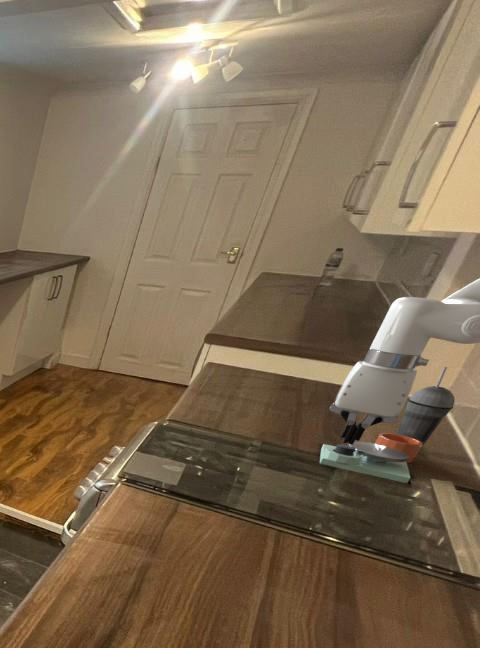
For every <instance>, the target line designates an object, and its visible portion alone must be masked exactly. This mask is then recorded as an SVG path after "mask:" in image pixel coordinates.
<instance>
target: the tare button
mask: <svg viewBox="0 0 480 648" xmlns="http://www.w3.org/2000/svg"><path fill="white" fill-rule="evenodd" d="M335 447H336V449H335V451H334V452H336V453H339V454H342V455H347V456H352V455H353V453H354V451H355V449H356V448H354V447H352V446H349V444H345V443H339V444H337V445H336V446H335Z"/></svg>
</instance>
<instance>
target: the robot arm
mask: <svg viewBox="0 0 480 648" xmlns="http://www.w3.org/2000/svg"><path fill="white" fill-rule="evenodd" d="M430 339H436V340H442V341H446V342H450V343H456V344H460V345H461V344H462V345H473V344H479V343H480V277H479V278H478V279H476V280H474V281H472V282H470V283H468V285H465V286H464V287H462V288H460V289H459V290H457V291H455V292H454V293H452V294H450V295H449V296H447V297H445V298H444V299H442V300H439V299H435V298H428V297H417V296H416V297H415V296H403V297H399V298H397V299H395V300H394V301H393V302H392V303H391V305H390V307H389V308H388V311H387V313H386V315H385V317H384V318H383V321H382V322H381V325H380V327H379V329H378V330H377V332H376V335H375V337H374V339H373V341H372V343H371V345H370V346H369V349H368V350H367V353H366V354H365V357H364V359H363V360H362V361H361V360H359V361H357V362H356V363H355V364H354V365H353V367H352V368H351V370H350V371H349V373H348V375H347V376H346V378H345V380H344V381H343V383H342V384H341V385H340V386H341V387H340V388H339V390H338V392H337V393H336V397H335V399H334V402H332V403H331V405H330V406H329V409H328V410H329V412H332V413H333V414H334V413H335V414H336V415H340V416H341V417H342V419H343V420H344V421H345V422H346V424H345V426H344V428H343V430H342V432H341V434H340V438H343V439H342V444H352V445H353V443H354V442H360V440H361V438H362V436H363V434H364V432H365V431H366V429H368V428H369V427H372V426H376V425H378V424H380V423H381V424H382V423H383V424H396V423H397V422H398V419H399V415H400V413H401V412H402V410H403V409H404V406H405V404H406V402H407V401H408V399H409V396H410V393H411V391H412V389H413V385H414V383H415V380H416V377H417V373H418V370H417V369H415V368H416V367H421V366H423V367H426V366H427V365H428V363H429V361H430V359H428V358H424V357H423V356H422V353H423V352H424V350H425V348H426V346H427V345H428V343H429V341H430ZM358 413H361V414H366V415H365V416H364V417H363V419H362V420H361V421H359V422H358V423H357V420H356V419H357V416H358Z"/></svg>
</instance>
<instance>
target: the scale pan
mask: <svg viewBox="0 0 480 648" xmlns="http://www.w3.org/2000/svg"><path fill="white" fill-rule="evenodd" d="M348 445H349V446H352V447H354V448H356V449H355V451H354V452H355V453H357V454H360V455H362V459H364V460H366V461H370V462H373V463H380V464H385V463H386V461H389V462H406V461H407V460H408V458H409V456H408V455H407V454H406V453H404V452H402V451H399V450H397V449H394V448H390V447H387V446H383V445H378V444H374V442H373V443H372V442H364V441H355V442H354V443H353V445H352V444H350V443H348Z"/></svg>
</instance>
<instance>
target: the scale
mask: <svg viewBox="0 0 480 648" xmlns="http://www.w3.org/2000/svg"><path fill="white" fill-rule="evenodd" d="M336 447H337V446H334V445H330V444H325V443H323V444H322V446H321V449H320V456H319V464H320V465H324V466H328V467H334V468H338V469H341V470H347V471H351V472H356V473H360V474H364V475H369V476H373V477H377V478H382V479H387V480H392V481H396V482H400V483H404V484H409V482H410V480H411V474H410V470H409V467H408V463H407V462H389V461H386V463H385V464H380V463H373V462H370V461H366V460H364V459H362V455H360V454H357V453H355V452H354V453H353V455H352V456H347V455H342V454H339V453H336V452H334V451H335V449H336Z"/></svg>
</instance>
